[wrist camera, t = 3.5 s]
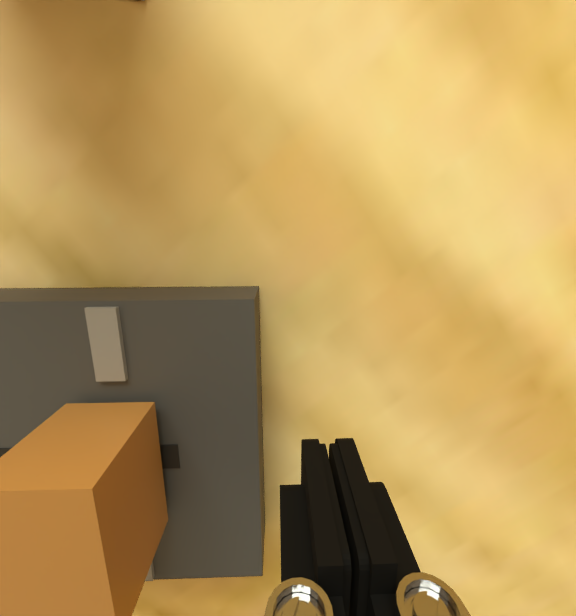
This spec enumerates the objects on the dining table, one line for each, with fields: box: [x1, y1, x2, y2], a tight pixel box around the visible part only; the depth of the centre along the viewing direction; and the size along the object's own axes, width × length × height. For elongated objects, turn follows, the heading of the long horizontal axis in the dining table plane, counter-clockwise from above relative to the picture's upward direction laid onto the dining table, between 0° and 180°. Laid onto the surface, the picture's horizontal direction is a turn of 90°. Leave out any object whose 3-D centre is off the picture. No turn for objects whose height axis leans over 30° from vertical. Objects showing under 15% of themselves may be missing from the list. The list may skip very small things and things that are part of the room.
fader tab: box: [0, 402, 168, 616], centre depth 10 cm, size 3×5×4 cm, turn 0°
